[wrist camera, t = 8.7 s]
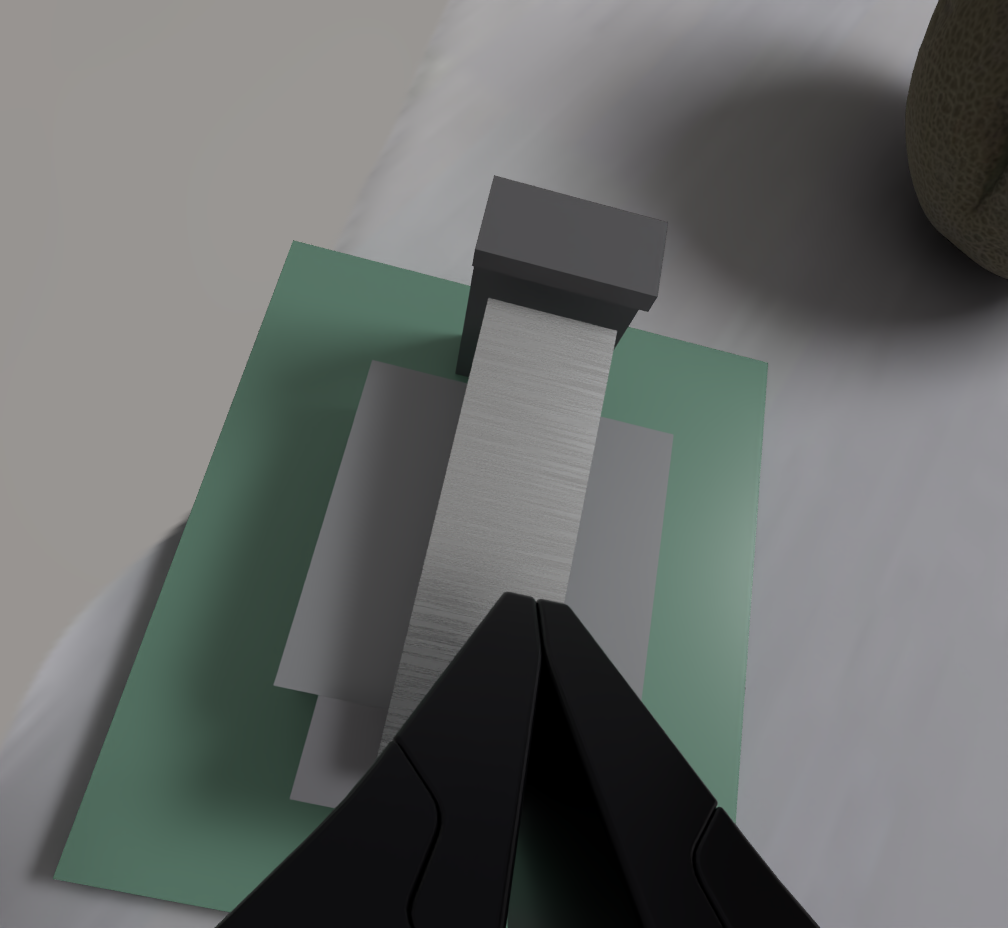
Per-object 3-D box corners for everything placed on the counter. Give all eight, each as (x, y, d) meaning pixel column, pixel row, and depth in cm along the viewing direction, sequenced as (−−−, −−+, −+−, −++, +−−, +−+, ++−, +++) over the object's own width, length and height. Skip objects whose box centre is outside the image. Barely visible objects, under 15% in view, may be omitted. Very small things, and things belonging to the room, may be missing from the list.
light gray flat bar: (525, 798, 13) (617, 330, 16) (374, 767, 13) (488, 297, 15) (521, 789, 14) (610, 340, 16) (376, 760, 14) (485, 308, 16)
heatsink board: (708, 991, 17) (932, 1200, 10) (68, 870, 16) (-199, 1007, 9) (756, 373, 24) (915, 227, 16) (296, 255, 23) (248, 42, 15)
